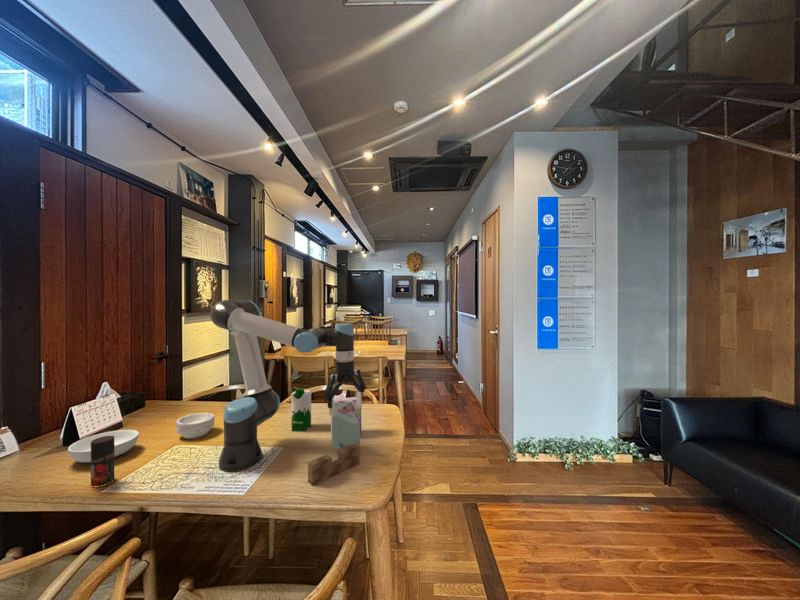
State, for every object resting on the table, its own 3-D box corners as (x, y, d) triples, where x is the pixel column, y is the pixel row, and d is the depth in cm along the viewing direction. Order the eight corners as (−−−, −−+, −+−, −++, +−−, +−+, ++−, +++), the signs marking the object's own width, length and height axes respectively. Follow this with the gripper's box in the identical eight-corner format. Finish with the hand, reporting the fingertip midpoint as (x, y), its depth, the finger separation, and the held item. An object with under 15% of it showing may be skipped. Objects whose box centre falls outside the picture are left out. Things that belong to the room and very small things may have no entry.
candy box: (331, 438, 142) (331, 402, 142) (331, 432, 147) (330, 398, 148) (361, 434, 145) (361, 399, 146) (359, 429, 151) (359, 395, 151)
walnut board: (312, 485, 105) (312, 465, 105) (308, 482, 107) (308, 461, 107) (359, 463, 119) (359, 445, 119) (355, 461, 121) (355, 443, 121)
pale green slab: (353, 459, 123) (353, 423, 123) (332, 445, 134) (331, 413, 134) (359, 456, 125) (359, 421, 125) (337, 443, 136) (337, 411, 136)
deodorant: (119, 477, 111) (119, 435, 111) (103, 487, 105) (103, 443, 105) (102, 477, 111) (102, 435, 111) (85, 487, 105) (85, 443, 105)
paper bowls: (221, 431, 150) (221, 415, 150) (187, 444, 136) (187, 426, 136) (202, 425, 157) (202, 410, 157) (169, 437, 143) (169, 420, 143)
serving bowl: (147, 451, 130) (147, 435, 130) (77, 476, 112) (77, 457, 112) (127, 440, 141) (127, 425, 141) (60, 461, 122) (60, 443, 123)
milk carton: (289, 431, 149) (288, 390, 149) (297, 424, 158) (296, 385, 158) (306, 432, 148) (306, 390, 148) (313, 424, 157) (313, 385, 157)
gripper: (323, 366, 118) (324, 421, 118) (373, 357, 136) (374, 405, 136) (313, 363, 124) (314, 416, 123) (363, 355, 141) (364, 401, 141)
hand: (346, 411), depth 129 cm, fingers open, 13 cm apart
